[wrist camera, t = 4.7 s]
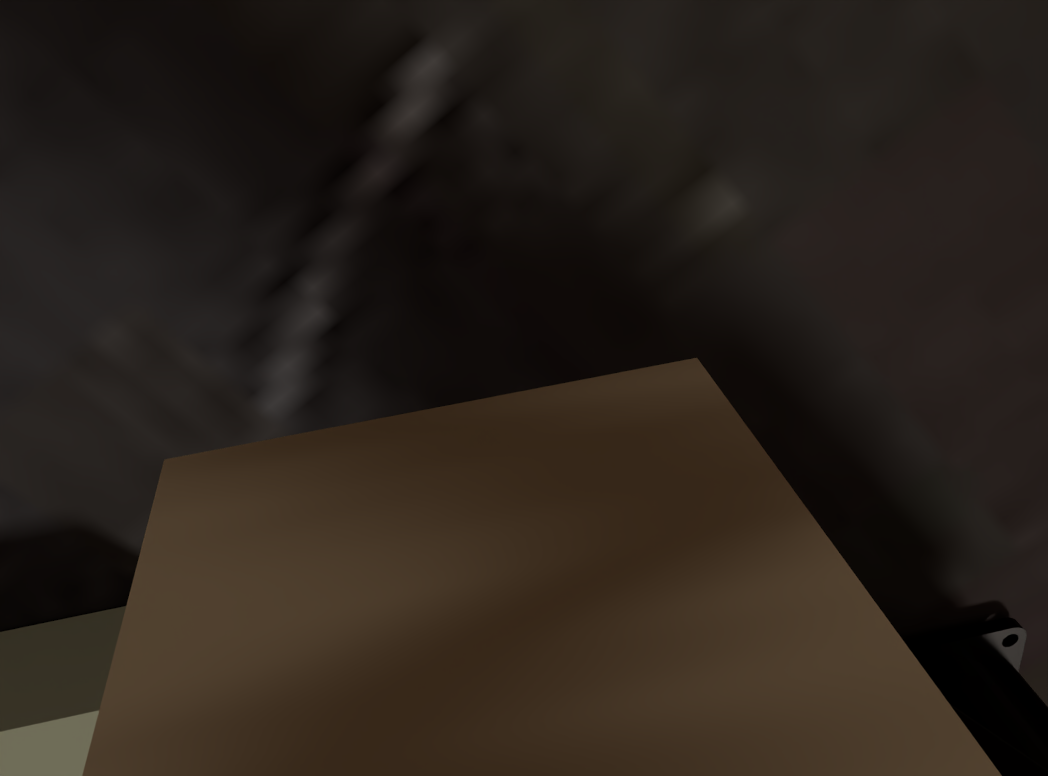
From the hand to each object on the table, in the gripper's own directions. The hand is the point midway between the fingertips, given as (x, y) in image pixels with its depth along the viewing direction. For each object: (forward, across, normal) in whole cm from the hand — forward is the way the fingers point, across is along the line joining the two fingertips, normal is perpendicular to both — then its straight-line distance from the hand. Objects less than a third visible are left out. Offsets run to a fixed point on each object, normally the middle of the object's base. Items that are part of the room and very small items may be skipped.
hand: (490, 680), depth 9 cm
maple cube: (+1, 0, 0) cm, 1 cm away
